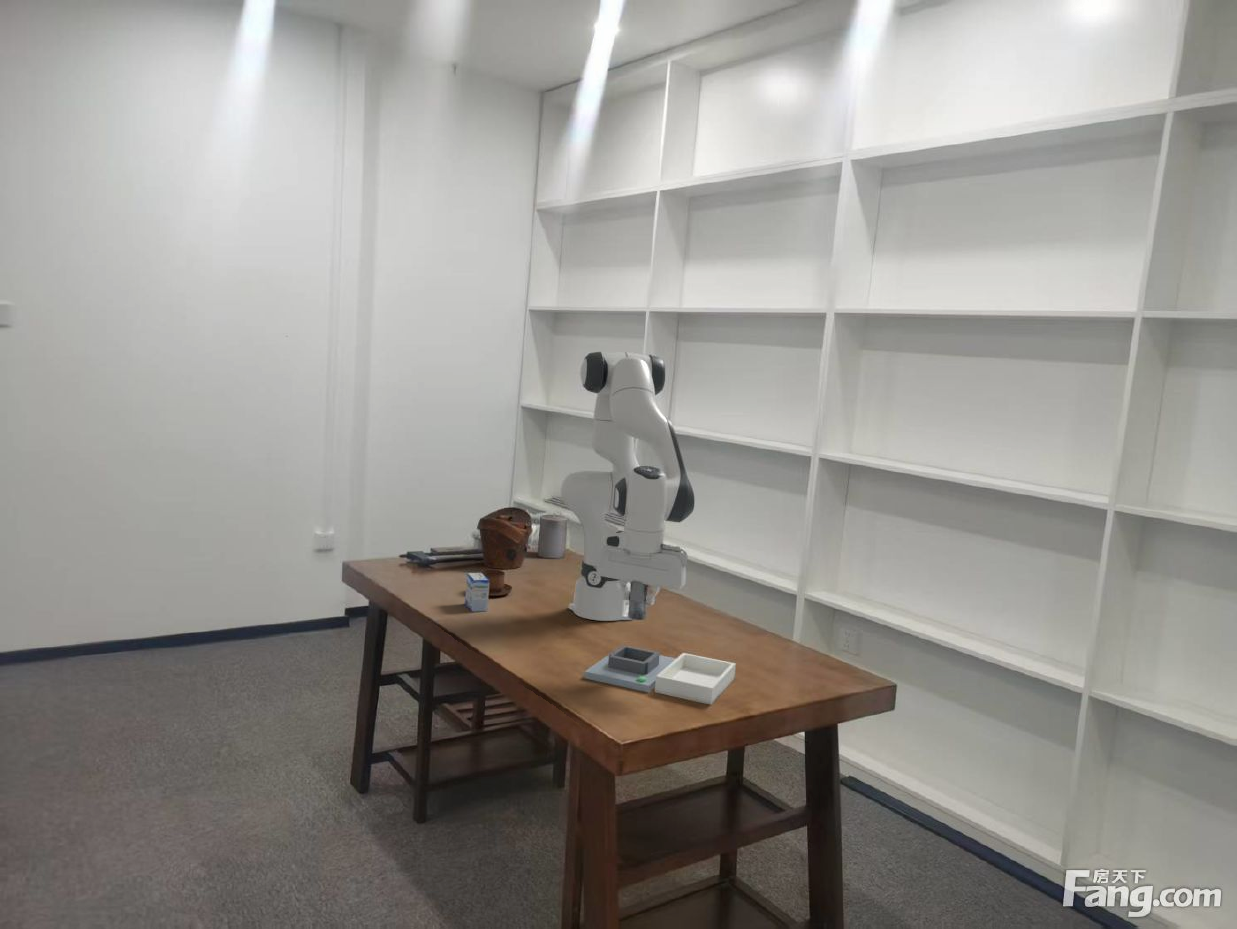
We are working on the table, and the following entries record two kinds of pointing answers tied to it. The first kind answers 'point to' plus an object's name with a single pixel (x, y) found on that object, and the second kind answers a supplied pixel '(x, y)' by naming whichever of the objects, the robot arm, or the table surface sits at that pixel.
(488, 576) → the cup and saucer
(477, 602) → the medicine box
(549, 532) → the pillar candle
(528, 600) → the table surface
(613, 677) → the tester cradle
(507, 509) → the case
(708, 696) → the tray
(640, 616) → the cell
